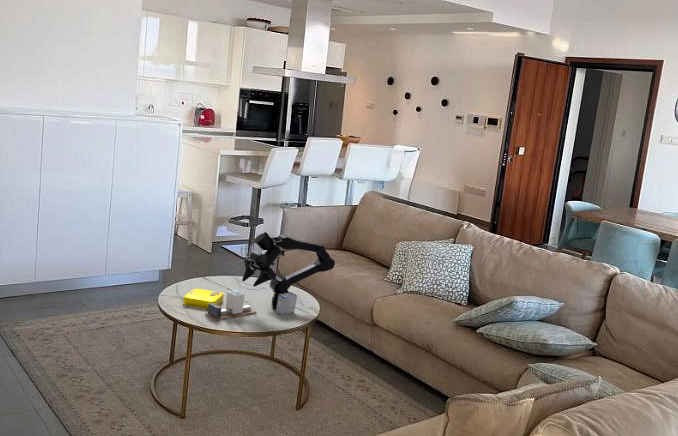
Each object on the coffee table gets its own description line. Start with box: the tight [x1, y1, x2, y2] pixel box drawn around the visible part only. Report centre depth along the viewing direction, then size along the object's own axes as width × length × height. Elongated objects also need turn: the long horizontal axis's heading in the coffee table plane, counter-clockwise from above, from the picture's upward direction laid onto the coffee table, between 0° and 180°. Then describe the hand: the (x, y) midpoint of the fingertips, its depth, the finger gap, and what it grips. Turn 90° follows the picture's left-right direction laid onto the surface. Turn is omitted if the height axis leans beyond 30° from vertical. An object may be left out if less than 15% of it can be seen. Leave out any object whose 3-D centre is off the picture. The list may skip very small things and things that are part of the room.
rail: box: [207, 303, 252, 318], centre depth 305 cm, size 20×7×5 cm, turn 134°
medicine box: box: [275, 291, 298, 316], centre depth 316 cm, size 8×4×9 cm, turn 138°
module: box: [225, 289, 245, 314], centre depth 305 cm, size 5×6×9 cm
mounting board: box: [204, 308, 257, 322], centre depth 305 cm, size 22×8×1 cm, turn 134°
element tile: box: [182, 287, 225, 310], centre depth 316 cm, size 15×15×5 cm
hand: (248, 283), depth 309 cm, fingers open, 8 cm apart
